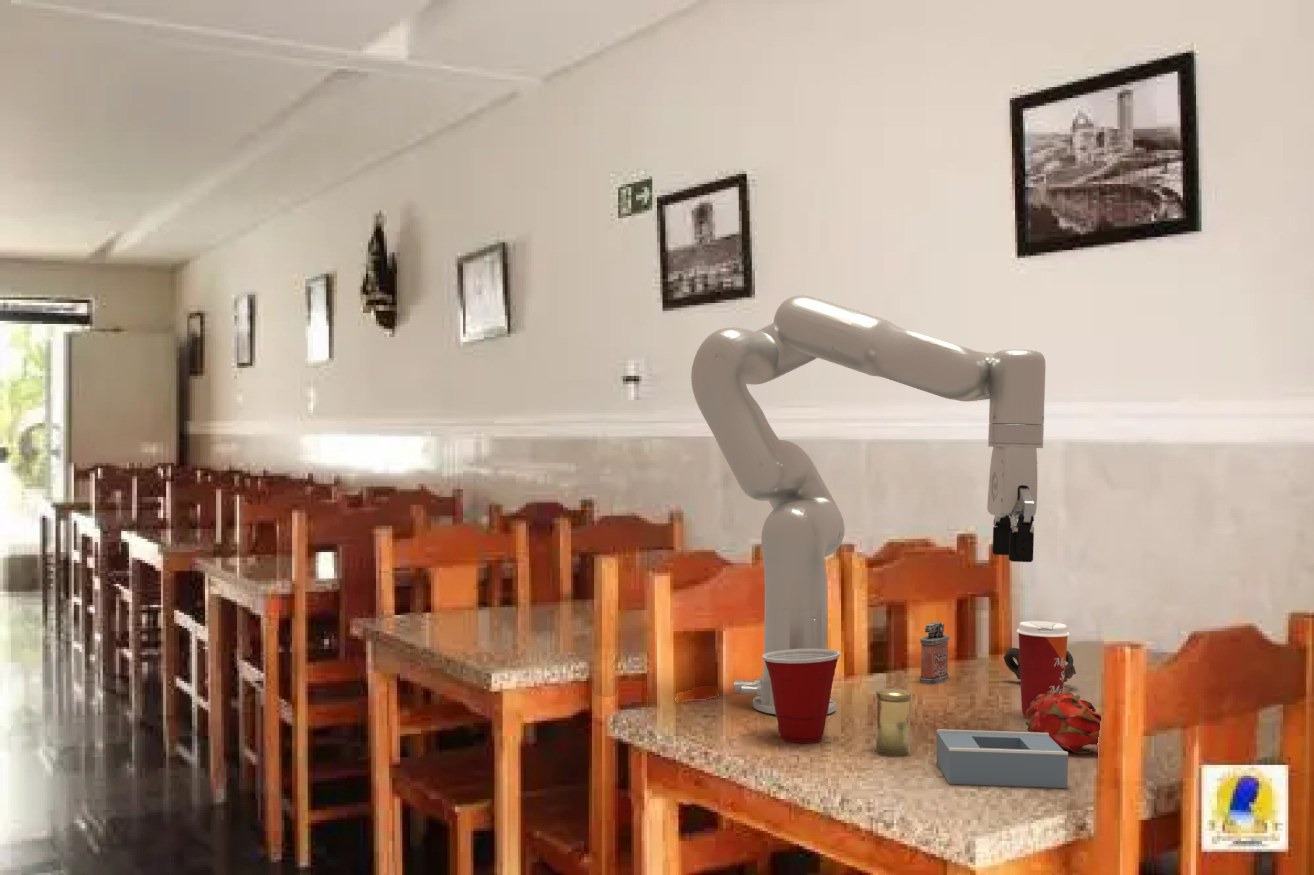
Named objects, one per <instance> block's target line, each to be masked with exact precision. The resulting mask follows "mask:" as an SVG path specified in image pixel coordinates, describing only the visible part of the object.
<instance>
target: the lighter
mask: <svg viewBox="0 0 1314 875" xmlns="http://www.w3.org/2000/svg"><path fill="white" fill-rule="evenodd" d="M944 631H945V623H943V622H937V621H931V622H930V623H929V624H926V625H925V626H924V633H927V634H928V635H925V636H922V637H921V638H920V640H919V642H920V645H921V646H920V647H921V648H920V649H921V652H920V656H921V658H920V659H921V660H920V676H919V684H921V685H937V684H941V683H945V682H946V681H948V680H949V679H950V678H949V677H950V676H949V675H950V674H949V673H948V672H949V671H948V669H949V668H948V666H949V665H948V663H949V662H948V659H949V641H950V635H949V634H945V633H944Z"/></svg>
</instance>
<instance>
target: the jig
mask: <svg viewBox="0 0 1314 875" xmlns="http://www.w3.org/2000/svg"><path fill="white" fill-rule="evenodd" d="M935 763H936V764H937V766H938V768H939V770H940V771H941V773H942V775H943V776H944V779H945V780H946V782H947V783H948V784H949V785H968V786H971V785H972V786H995V787H996V786H997V787H999V786H1001V787H1021V788H1022V787H1023V788H1025V787H1026V788H1048V789H1049V788H1051V789H1068V784H1069V783H1068V781H1069V780H1068V777H1069V767H1068V766H1069V752H1068V751H1065V749H1064V748H1061V747H1060V746H1059V745H1058V744H1057V743H1056V742H1055V741H1054V740H1053V739H1052V738H1050V737H1049V733H1033V732H1029V731H998V730H997V731H996V730H995V731H994V730H974V729H973V730H971V729H969V730H968V729H967V730H965V729H942V728H941V729H936V762H935Z"/></svg>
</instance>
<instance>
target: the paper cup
mask: <svg viewBox="0 0 1314 875" xmlns="http://www.w3.org/2000/svg"><path fill="white" fill-rule="evenodd" d="M1016 633H1017V634H1018V649H1019V656H1020V679H1019V681H1020V699H1021V701H1020V702H1021V714H1022V715H1021V716H1022V717H1023V718H1024V719H1027V720H1029V719H1028V718H1027V717H1026V711H1027V709H1029V706H1030V704H1031V702H1033V701H1034V700H1035V699H1036V697H1037V696H1038V695H1039V694H1047V692H1048V691H1057V690H1060V691H1059V693H1060V694H1061V695H1062V694H1064V688H1065V687H1064V685H1065V682H1064V676H1065V666H1066V663H1067V662H1066V650H1067V646H1068V637H1069V636H1071V634H1070V632H1069V631H1068V626H1067V624H1064V623H1061V622H1055V621H1045V620H1043V621H1042V620H1026V621H1021V622H1019V626H1018V628H1017V629H1016Z"/></svg>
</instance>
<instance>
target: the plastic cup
mask: <svg viewBox="0 0 1314 875" xmlns="http://www.w3.org/2000/svg"><path fill="white" fill-rule="evenodd" d="M840 657H841V652H840V651H838V650H834V649H828V648H827V649H792V650H781V651H774V652H769V653H766V654H764V653H763V654H762V655H761V659H762V660H763V662H764V661H765V663H766V666H767V669H768V672H769V676H770V680H771V687H772V693H773V699H774V706H775V712H776V714H777V715H776V720H777V726H778V727H777V728H778V729H777V730H778V734H779V737H780V739H781V740H783V741H786V742H790V743H796V744H797V743H799V744H811V743H818V742H821V741H822V738H823V736H824V732H825V726H826V721H827V716H828V715H829V714H828V708H829V702H830V699H831V695H832V689H833V684H834V682H833V681H834V678H835V675H836V668H837V663H838V660H839V658H840Z"/></svg>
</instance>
